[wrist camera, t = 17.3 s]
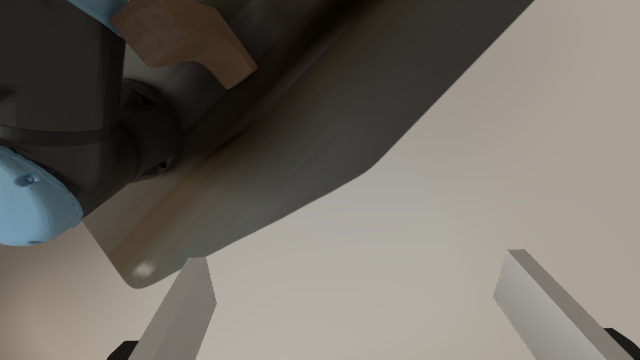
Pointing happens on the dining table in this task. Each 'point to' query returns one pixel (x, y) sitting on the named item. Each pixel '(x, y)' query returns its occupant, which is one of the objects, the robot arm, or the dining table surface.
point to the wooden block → (183, 37)
